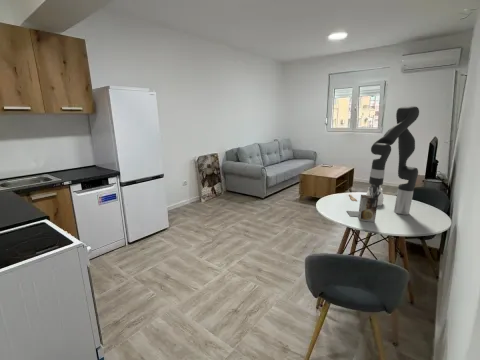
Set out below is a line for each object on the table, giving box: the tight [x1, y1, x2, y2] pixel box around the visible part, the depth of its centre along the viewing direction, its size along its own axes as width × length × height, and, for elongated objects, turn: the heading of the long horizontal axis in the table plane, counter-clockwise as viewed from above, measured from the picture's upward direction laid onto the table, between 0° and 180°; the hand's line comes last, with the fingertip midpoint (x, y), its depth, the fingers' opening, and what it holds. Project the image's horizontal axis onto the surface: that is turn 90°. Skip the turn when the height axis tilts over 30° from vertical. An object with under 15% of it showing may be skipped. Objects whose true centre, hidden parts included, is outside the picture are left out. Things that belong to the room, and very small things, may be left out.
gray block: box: [346, 210, 359, 218], centre depth 179 cm, size 10×16×1 cm, turn 82°
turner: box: [348, 194, 358, 202], centre depth 216 cm, size 15×4×1 cm, turn 172°
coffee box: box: [357, 194, 378, 223], centre depth 169 cm, size 9×6×16 cm
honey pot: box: [365, 185, 385, 206], centre depth 204 cm, size 13×13×18 cm
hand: (372, 203), depth 162 cm, fingers closed
